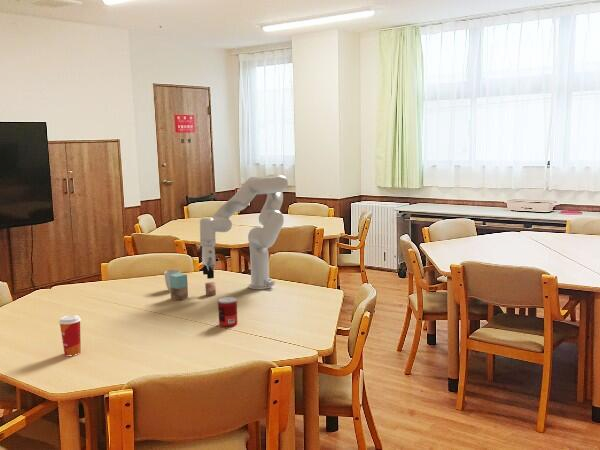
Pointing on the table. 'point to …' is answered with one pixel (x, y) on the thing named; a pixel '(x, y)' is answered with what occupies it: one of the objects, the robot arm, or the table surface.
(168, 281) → the cup
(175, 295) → the tower bottom
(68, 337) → the paper cup
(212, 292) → the drum
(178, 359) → the table surface
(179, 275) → the tower top
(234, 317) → the canned food
